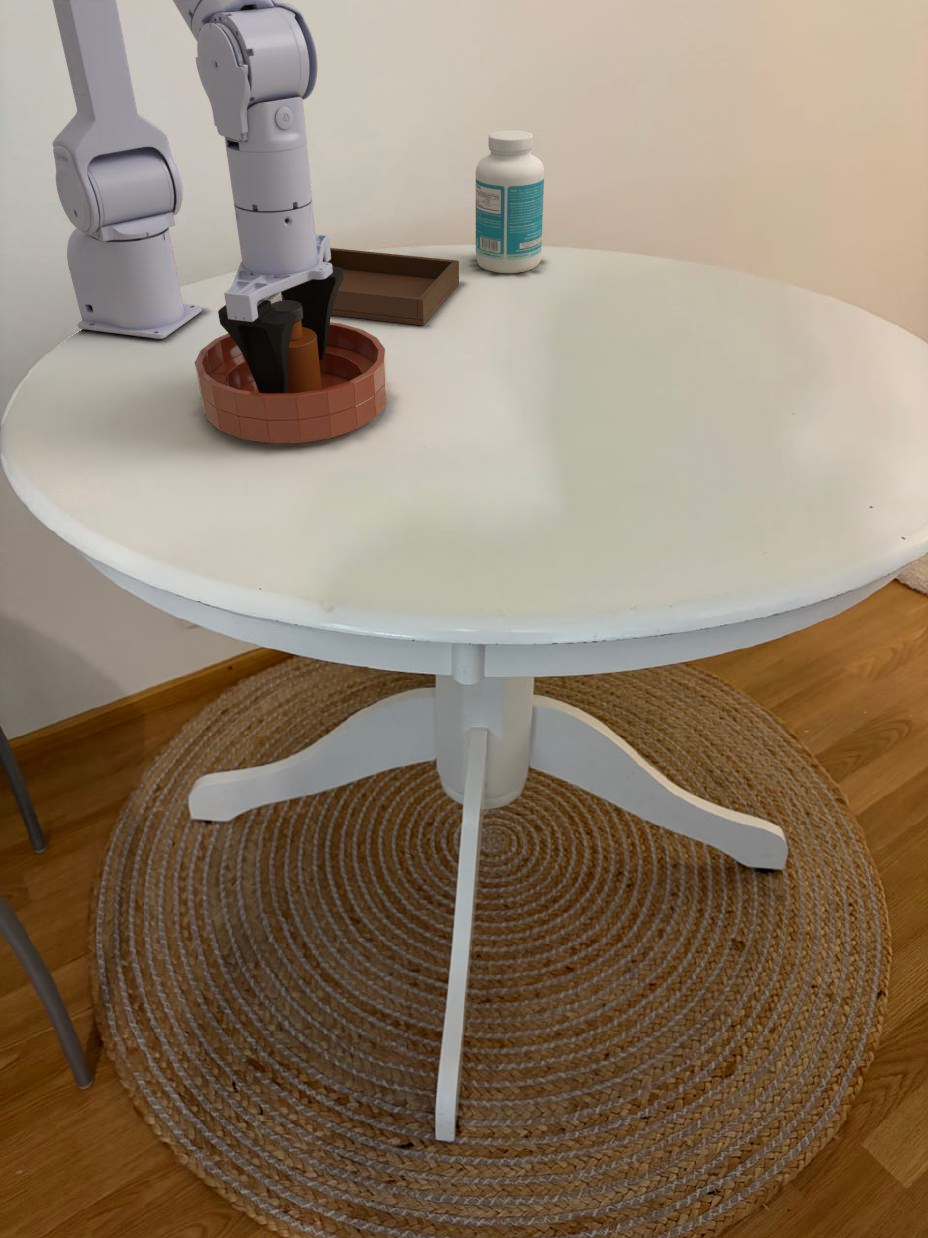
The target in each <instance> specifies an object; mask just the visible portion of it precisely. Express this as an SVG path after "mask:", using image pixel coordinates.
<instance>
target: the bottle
mask: <svg viewBox="0 0 928 1238" xmlns="http://www.w3.org/2000/svg"><path fill="white" fill-rule="evenodd" d="M271 307H272V308H273V307H275V308H276V312H279V313H288V314H295V315H297V317H296V320H295V323H294V325H293V329H292V333H291V337H290V343H289V352H288V379H289V381H288V390H287V393H301V392H308V391H314V390H321V389H322V386H321V376H320V366H319V355H318V345H317V335H316V333H315V332H314V331H313V330H311V329H308V328H304V327H302V324H301V320H302V318H303V309H302V304H301V303H299V302H297V301H292V300H283V301H282V300H278V301H274V302H271Z"/></svg>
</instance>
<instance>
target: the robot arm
mask: <svg viewBox="0 0 928 1238" xmlns="http://www.w3.org/2000/svg"><path fill="white" fill-rule="evenodd" d="M172 2H173V4H174V5H175V7H176V9H177V10H178V12H179V14H180V15H181V17H182V19H183V20H184V22H185V24H186V25H187V27H188V29H189V31H190V32H191V34H192V36H193V37H194V39H195V41H196V42H197V45H196V53H197V56H196V57H195V64H196V68H197V73H198V76H199V79H200V83H201V85H202V88H203V90H204V93H205V94H206V96H207V99H208V100H209V103H210V106H211V110H212V117H213V124H214V127H216V131H217V133H218V135H219V136H222V137H224V144H225V151H226V157H227V165H228V171H229V172H228V173H229V180H230V184H231V186H230V187H231V193H232V194H231V195H232V200H233V207H234V214H235V215H234V216H235V221H236V229H237V236H238V242H239V250H240V255H241V261H240V264H239V266H238V269H237V272H236V274H235V277H234V279H233V282H232V284H231V286H230V288H228V289H227V291H225V292H224V294H223V295H224V301H225V305H223V306H222V307H220V308H219V310H218V311H217V315H218V320H219V324H220V326H221V327H222V328H223V329H224V330H225V331H226V333H227V334H228V333H229V335H230V336H231V337H232V339H233V340H234V341H235V343H236V344H237V346H238V347H239V349H240V351H241V352H242V354H243V356H244V358H245V360H246V362H247V364H248V367H249V369H250V371H251V374H252V376H253V378H254V381H255V383H256V386H257V388H258V390H259V392H260V393H265V394H276V393H287V390H288V381H289V379H288V352H289V343H290V337H291V333H292V329H293V325H294V323H295V320H296V317H297V315H295V314H288V313H279V312H276V308H275V307H273V308H272V307H271V304H272V300H273V299H275V298H276V297H277V296H278V295H281V294H282V295H281V297H282V296H283V298H284V300H292V301H297V302H299V303H301V304H302V309H303V318H302V320H301V324H302V327H304V328H308V329H311V330H313V331H314V332H315V333H316V335H317V345H318V355H319V360H322V359H323V358H324V357H325V353H326V347H327V340H328V332H329V325H330V322H331V318H332V315H331V313H332V309H333V305H334V302H335V298H336V295H337V292H338V290H339V287H340V285H341V283H342V281H343V278H344V275H343V269H342V268H339V267H334V266H332V264H331V263H328V261H329V260H330V259H331V252H330V248H331V241H330V235H328V234H327V235H325V234H316V226H315V224H316V223H315V214H314V205H313V191H312V182H311V171H310V162H309V150H308V149H309V148H308V140H307V129H306V117H305V109H304V108H305V107H304V100H306V99H308V98H309V97H310V96H311V95H312V93H313V91H314V89H315V88H316V87H315V86H316V83H317V78H318V67H319V66H318V54H317V49H316V44H315V40H314V37H313V35H312V31H311V29H310V27H309V25H308V23H307V21H306V18H305V16H304V14H303V12H302V11H301V10H300V9H299V8H298V7H296V6H295V5H294V4H292V3H289V2H284V1H282V0H172ZM52 5H53V10H54V15H55V18H56V22H57V27H58V31H59V35H60V40H61V44H62V49H63V53H64V58H65V62H66V67H67V71H68V72H67V73H68V74H69V75H68V76H69V80H70V84H71V89H72V93H73V97H74V98H73V99H74V102H75V106H76V113H75V114H74V116H73V117H72V118H71V119H70V120H69V122H68V123H67V124H66V125H65V126H64V128H62V130H61V131H59V133H58V134H57V135H56V137H54V140H53V141H52V148H53V149H52V151H53V157H54V163H55V186H56V192H57V195H58V198H59V201H60V204H61V206H62V209H63V211H64V213H65V215H66V217H67V219H68V220H69V222H70V223H71V225H73V227H75V229H74V230H73V231H72V232H71V234H70V236H69V238H68V241H67V247H66V260H67V265H68V270H69V273H70V278H71V281H72V285H73V289H74V293H75V297H76V301H77V306H78V309H79V314H80V318H81V321H80V322H78V323H77V326H78V327H77V328H78V329H81V330H88V331H94V332H95V331H96V332H102V333H109V334H110V333H111V334H118V335H125V336H134V337H141V338H148V339H149V338H150V339H157V340H163V339H165V338H167V337H168V336H170V335H171V334H172V333H173V332H175V331H176V330H178V329H179V328H180V327H182V326H183V325H184V324H186V323H188V322H189V321H190V320H192V319H194V317H196V316H197V315H199V314H200V313H201V312H202V311H203V308H202V306H201V305H197V304H188V303H184V302H183V296H182V291H181V286H180V280H179V274H178V270H177V265H176V264H177V263H176V258H175V255H174V254H175V253H174V248H173V243H172V237H171V236H172V235H171V232H170V231H171V230H170V228H171V227H174V226H176V221H175V216H176V215H178V214H179V213H180V210H181V208H182V203H183V199H184V188H183V182H182V178H181V175H180V172H179V168H178V167H177V164H176V163H175V159H174V157H173V154H172V151H171V146H170V143H169V139H168V135H167V134H166V133H165V131H164V130H162V129H161V128H160V127H159V126H157V125H156V124H155V123H153V122H152V121H150V120H149V119H147V118H145V117H144V116H143V115H141V114H139V112H138V107H137V102H136V98H135V93H134V87H133V82H132V77H131V72H130V67H129V61H128V55H127V50H126V45H125V39H124V35H123V29H122V23H121V18H120V14H119V8H118V4H117V0H52Z"/></svg>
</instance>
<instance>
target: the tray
mask: <svg viewBox="0 0 928 1238" xmlns="http://www.w3.org/2000/svg"><path fill="white" fill-rule="evenodd" d="M330 252H331V259H330V260H329V261H328V263H331V264H332V266H334V267H339V268H342V269H343V275H344V278H343V281H342V283H341V285H340V287H339V290H338V292H337V295H336V298H335V302H334V305H333V309H332V313H331V316H338V317H345V318H355V319H363V320H371V321H380V322H390V323H398V324H407V325H413V326H422V327H423V326H425V325H426V323H427V322H428V321H429V320H430V319H431V318H432V317H433V315H434V314H435V313H436V312H437V311H438V310H439V309H440V307H441V306H442V305H443V304H444V303H445V301H447V299H448V298H449V297H450V296H451V295H452V294H453V292H454V291H455V290H456V289H457V287H459V285H460V260H455V259H447V258H437V257H428V256H416V255H408V254H407V255H405V254H397V253H389V252H388V253H387V252H377V251H366V250H357V249H346V248H336V247H330ZM280 295H281V301H283V300H284V298H283V296H282V294H281V293H280Z"/></svg>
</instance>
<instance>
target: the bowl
mask: <svg viewBox="0 0 928 1238" xmlns="http://www.w3.org/2000/svg"><path fill="white" fill-rule="evenodd" d="M319 366H320V376H321V386H322V389H321V390H314V391H308V392H301V393H276V394H265V393H260V392H259V390H258V388H257V386H256V383H255V381H254V378H253V376H252V374H251V371H250V369H249V367H248V364H247V362H246V360H245V358H244V356H243V354H242V352H241V351H240V349H239V347H238V346H237V344H236V343H235V341H234V340H233V339H232V337H231V336H230V335H229V333H228V332H227V333H226V334H224V335H222V336H219V337H216V338H215V339H213V340H212V341H210V343H208V344H207V345H206V346H204V347H203V348H202V349H201V350H199V352H198V354H197V357H196V358H195V361H194V367H195V374H196V378H197V384H198V389H199V395H200V399H201V406H202V410H203V413H204V416H205V418H206V420H207V421H208V422H210V424H211V425H213V426H214V427H215V428H216V429H218V430H219V431H220V432H223V433H226V434H227V435H230V436H234V437H236V438H238V439H242V440H249V441H256V442H262V443H270V444H280V443H281V444H283V443H284V444H285V443H286V444H288V443H296V444H297V443H307V442H314V441H320V440H326V439H331V438H334V437H338V436H340V435H343V434H347V433H349V432H352V431H355V430H357V429H359V428H361V427H363V426H364V425H366V424H367V423H369V422H371V421H372V420H374V419H376V418H377V417H378V416H379V414H380V413H381V412H382V411H383V410H384V408H385V407H386V405H387V401H388V378H387V377H388V376H387V375H388V374H387V358H386V348H385V347H384V345H383V344H382V343H381V342H380V340H379V338H378V337H376V336H374V335H373V334H371V333H369V332H367V331H366V330H364V329H361V328H358V327H355V326H351V325H348V324H344V323H341V322H331V321H330V325H329V332H328V340H327V347H326V353H325V357H324V358H323V359H322V360H319Z"/></svg>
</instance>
